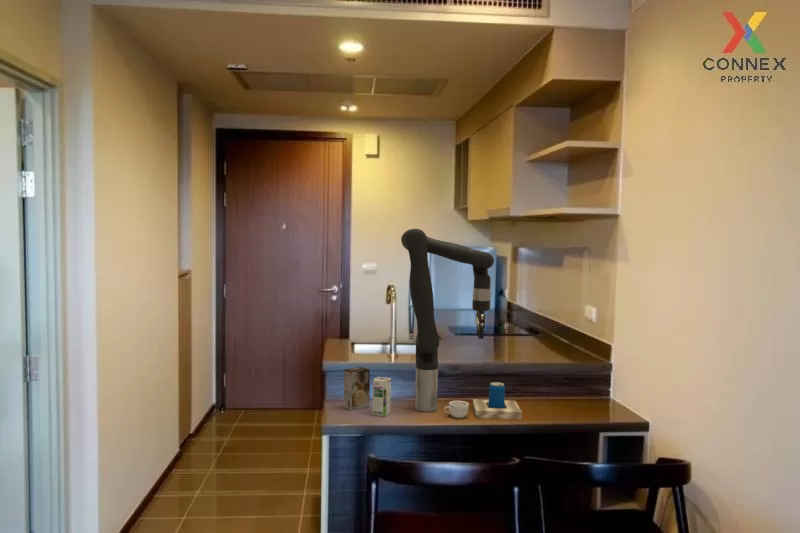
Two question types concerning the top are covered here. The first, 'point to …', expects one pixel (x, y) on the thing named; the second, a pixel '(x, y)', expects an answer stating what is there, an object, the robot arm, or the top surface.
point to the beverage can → (496, 395)
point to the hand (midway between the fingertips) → (479, 336)
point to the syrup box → (381, 396)
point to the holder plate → (497, 410)
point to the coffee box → (356, 388)
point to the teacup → (458, 408)
